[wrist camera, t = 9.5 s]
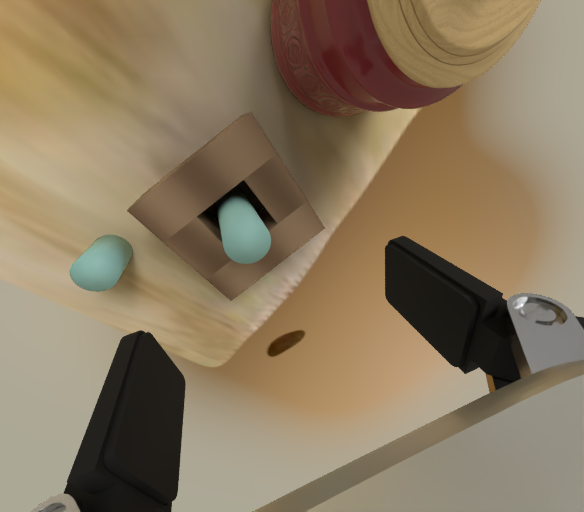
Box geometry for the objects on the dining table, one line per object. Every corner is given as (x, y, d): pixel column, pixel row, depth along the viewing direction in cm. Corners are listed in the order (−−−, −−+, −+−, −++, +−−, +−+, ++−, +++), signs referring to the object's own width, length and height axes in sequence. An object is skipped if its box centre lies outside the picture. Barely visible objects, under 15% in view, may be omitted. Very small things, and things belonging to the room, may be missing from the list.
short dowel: (121, 230, 25) (104, 251, 21) (139, 258, 26) (126, 283, 22) (85, 241, 24) (59, 264, 20) (105, 269, 26) (86, 296, 22)
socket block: (240, 116, 24) (250, 112, 19) (304, 211, 30) (325, 228, 25) (143, 193, 24) (126, 210, 19) (226, 272, 30) (231, 300, 25)
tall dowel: (242, 184, 26) (263, 213, 17) (251, 213, 28) (276, 254, 19) (211, 193, 26) (215, 228, 16) (222, 223, 28) (232, 270, 18)
